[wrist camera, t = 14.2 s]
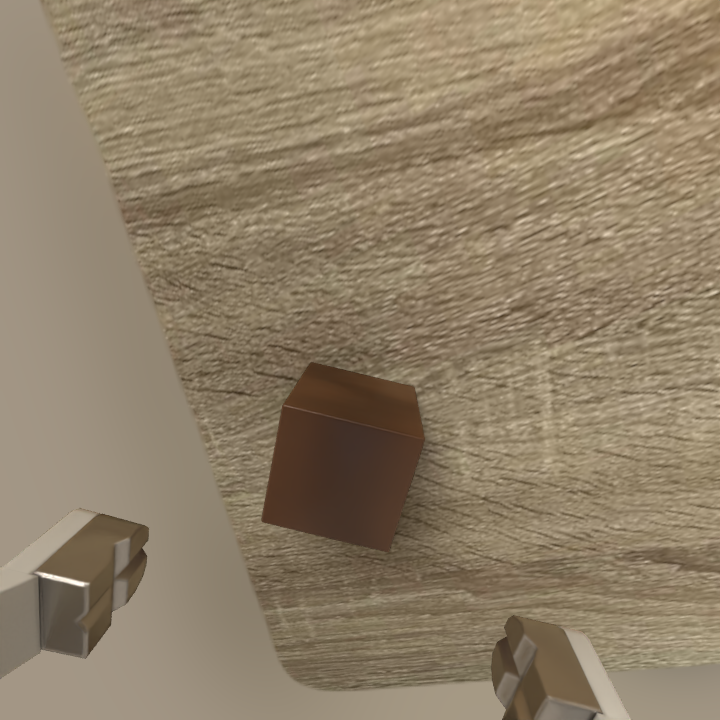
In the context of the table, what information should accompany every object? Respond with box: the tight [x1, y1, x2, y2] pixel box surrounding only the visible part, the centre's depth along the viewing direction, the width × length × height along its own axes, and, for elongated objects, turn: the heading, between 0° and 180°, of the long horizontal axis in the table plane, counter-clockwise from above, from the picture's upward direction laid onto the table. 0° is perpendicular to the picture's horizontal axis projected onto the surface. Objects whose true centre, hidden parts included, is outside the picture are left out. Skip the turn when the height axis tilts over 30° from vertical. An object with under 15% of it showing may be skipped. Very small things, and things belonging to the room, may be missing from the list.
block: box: [261, 362, 425, 552], centre depth 14 cm, size 4×4×4 cm
